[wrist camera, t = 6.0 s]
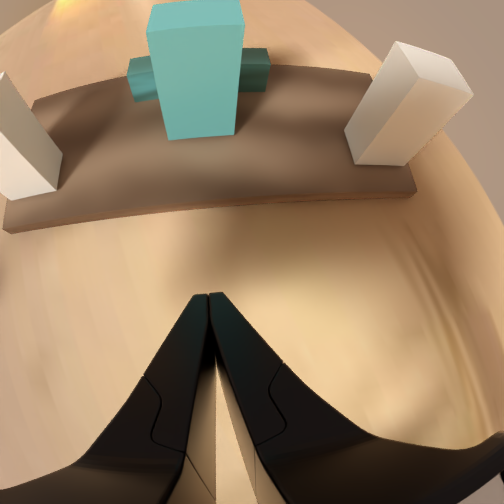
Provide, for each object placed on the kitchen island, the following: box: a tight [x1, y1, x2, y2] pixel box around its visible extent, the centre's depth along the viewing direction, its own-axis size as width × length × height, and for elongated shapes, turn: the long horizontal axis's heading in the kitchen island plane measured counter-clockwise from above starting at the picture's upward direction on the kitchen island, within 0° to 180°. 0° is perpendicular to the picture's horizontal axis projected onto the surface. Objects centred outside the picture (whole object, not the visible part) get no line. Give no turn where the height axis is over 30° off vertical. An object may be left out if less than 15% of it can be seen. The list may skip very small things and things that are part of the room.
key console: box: [3, 48, 417, 234], centre depth 19 cm, size 12×31×4 cm, turn 97°
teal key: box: [146, 0, 245, 141], centre depth 15 cm, size 3×4×9 cm
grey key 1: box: [344, 41, 474, 166], centre depth 16 cm, size 3×4×9 cm
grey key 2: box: [0, 72, 63, 201], centre depth 13 cm, size 3×4×9 cm
